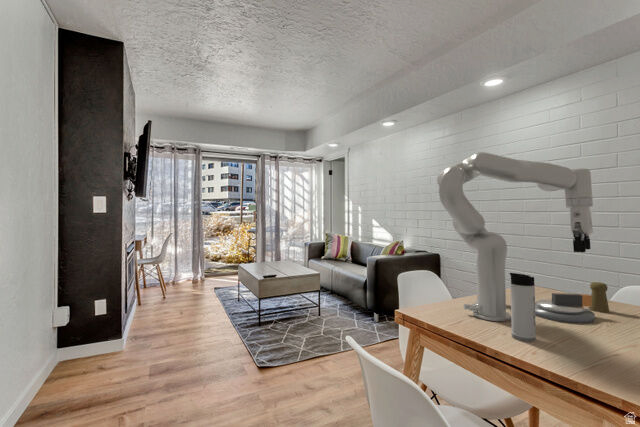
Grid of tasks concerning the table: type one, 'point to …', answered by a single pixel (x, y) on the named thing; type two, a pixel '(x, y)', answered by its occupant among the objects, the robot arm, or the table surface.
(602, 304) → the cork
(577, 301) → the dial
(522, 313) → the travel mug
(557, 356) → the table surface
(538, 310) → the dial base
